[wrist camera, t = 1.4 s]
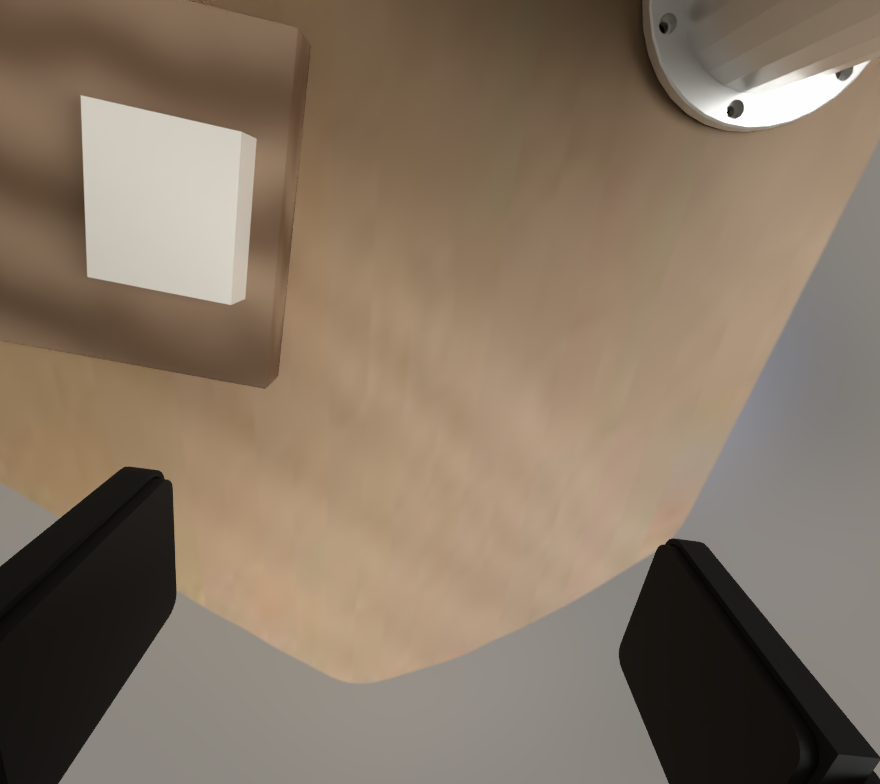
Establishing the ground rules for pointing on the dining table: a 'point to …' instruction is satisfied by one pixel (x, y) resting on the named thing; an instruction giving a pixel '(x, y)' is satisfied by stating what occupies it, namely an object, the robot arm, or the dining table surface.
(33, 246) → the board
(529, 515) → the dining table surface
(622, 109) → the dining table surface
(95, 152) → the tile
